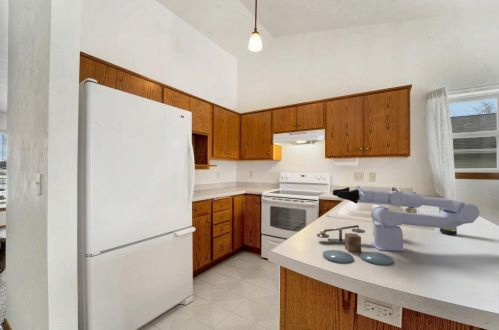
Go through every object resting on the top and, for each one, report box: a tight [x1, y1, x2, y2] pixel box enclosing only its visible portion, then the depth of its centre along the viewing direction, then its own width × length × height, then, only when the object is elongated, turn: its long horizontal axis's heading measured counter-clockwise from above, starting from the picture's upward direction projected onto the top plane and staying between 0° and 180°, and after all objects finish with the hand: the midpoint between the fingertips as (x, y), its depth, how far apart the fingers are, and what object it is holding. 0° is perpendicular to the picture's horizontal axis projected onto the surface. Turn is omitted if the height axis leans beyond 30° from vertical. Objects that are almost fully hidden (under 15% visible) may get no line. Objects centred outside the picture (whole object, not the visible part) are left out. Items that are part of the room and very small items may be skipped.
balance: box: [316, 224, 366, 245], centre depth 94 cm, size 20×5×8 cm, turn 83°
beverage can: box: [438, 207, 458, 236], centre depth 108 cm, size 6×6×15 cm
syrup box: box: [371, 204, 390, 235], centre depth 104 cm, size 6×6×14 cm
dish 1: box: [322, 249, 354, 264], centre depth 78 cm, size 10×10×1 cm
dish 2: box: [359, 251, 394, 266], centre depth 76 cm, size 10×10×1 cm
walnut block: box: [344, 232, 362, 254], centre depth 85 cm, size 4×4×6 cm
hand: (335, 193), depth 91 cm, fingers open, 7 cm apart
